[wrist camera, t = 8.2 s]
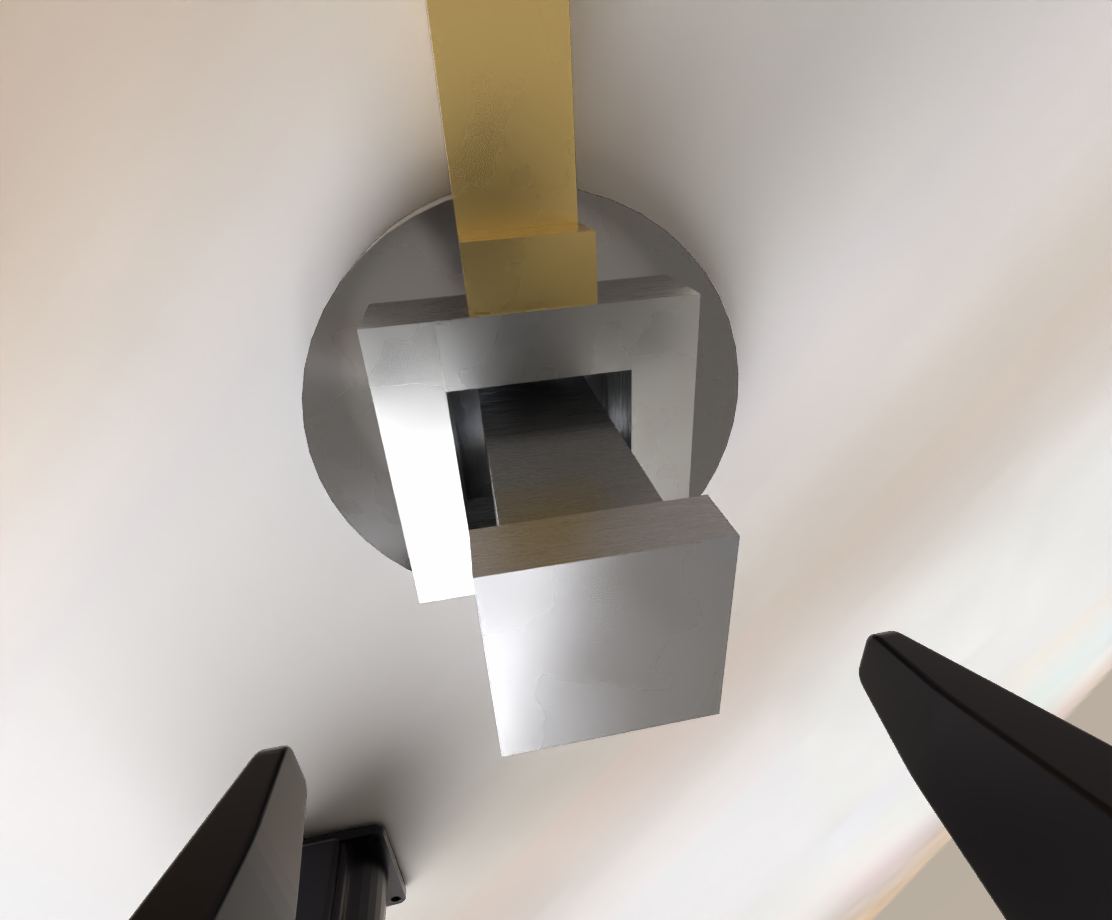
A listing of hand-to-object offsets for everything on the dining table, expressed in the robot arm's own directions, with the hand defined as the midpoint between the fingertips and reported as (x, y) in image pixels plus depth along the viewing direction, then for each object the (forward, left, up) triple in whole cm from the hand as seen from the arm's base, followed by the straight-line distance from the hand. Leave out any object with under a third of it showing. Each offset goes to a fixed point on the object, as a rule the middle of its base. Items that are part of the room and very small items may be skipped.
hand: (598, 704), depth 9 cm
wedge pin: (0, 0, -10) cm, 10 cm away
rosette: (+2, 0, -12) cm, 12 cm away
